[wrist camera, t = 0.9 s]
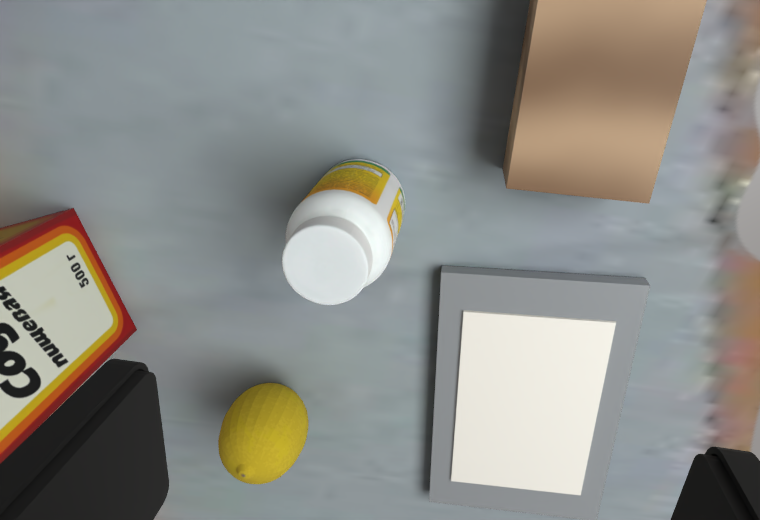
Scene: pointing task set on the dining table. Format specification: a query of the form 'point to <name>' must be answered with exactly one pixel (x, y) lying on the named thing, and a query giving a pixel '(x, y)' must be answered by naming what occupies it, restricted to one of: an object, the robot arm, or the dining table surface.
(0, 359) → the baking soda box
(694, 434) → the dining table surface
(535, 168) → the walnut slab
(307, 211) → the supplement bottle
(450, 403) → the baseplate
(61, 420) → the robot arm
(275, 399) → the lemon
